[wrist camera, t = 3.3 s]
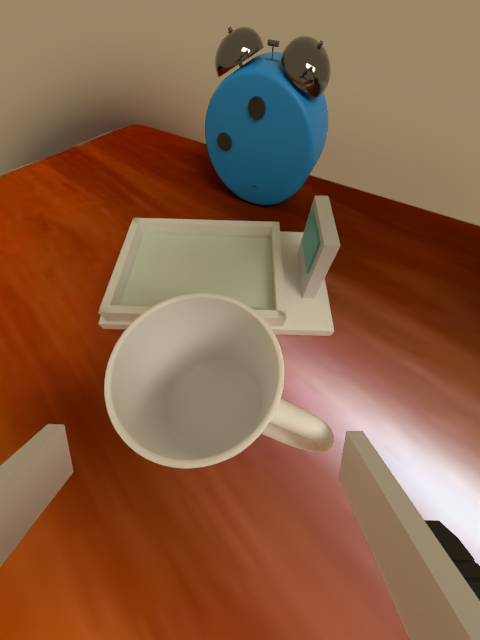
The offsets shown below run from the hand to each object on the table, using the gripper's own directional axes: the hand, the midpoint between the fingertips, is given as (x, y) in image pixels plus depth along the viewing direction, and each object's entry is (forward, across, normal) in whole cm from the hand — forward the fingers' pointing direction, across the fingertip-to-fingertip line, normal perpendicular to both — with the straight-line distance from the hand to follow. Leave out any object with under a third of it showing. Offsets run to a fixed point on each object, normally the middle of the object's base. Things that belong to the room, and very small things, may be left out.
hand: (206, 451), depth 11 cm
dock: (+17, -1, +6) cm, 19 cm away
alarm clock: (+28, +4, +17) cm, 33 cm away
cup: (+8, +1, -4) cm, 9 cm away
